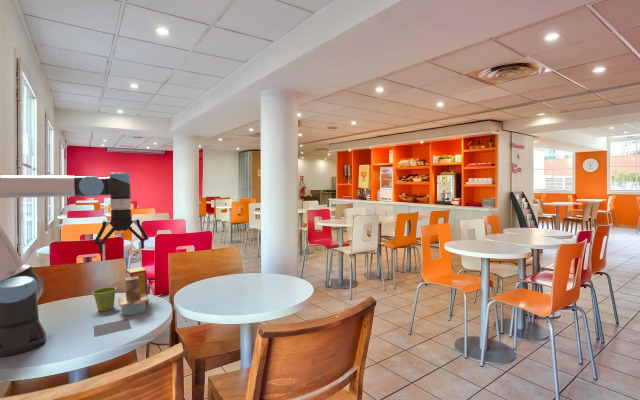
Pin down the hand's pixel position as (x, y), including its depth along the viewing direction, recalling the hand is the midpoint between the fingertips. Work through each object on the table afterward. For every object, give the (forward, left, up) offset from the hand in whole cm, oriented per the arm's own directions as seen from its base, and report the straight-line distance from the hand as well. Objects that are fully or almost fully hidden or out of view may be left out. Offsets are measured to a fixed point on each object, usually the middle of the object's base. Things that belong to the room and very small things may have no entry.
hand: (122, 258), depth 152 cm
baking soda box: (+6, +14, -24) cm, 29 cm away
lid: (+3, -1, -19) cm, 19 cm away
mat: (-6, -15, -24) cm, 29 cm away
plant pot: (-7, +13, -24) cm, 28 cm away
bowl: (+3, 0, -24) cm, 24 cm away
